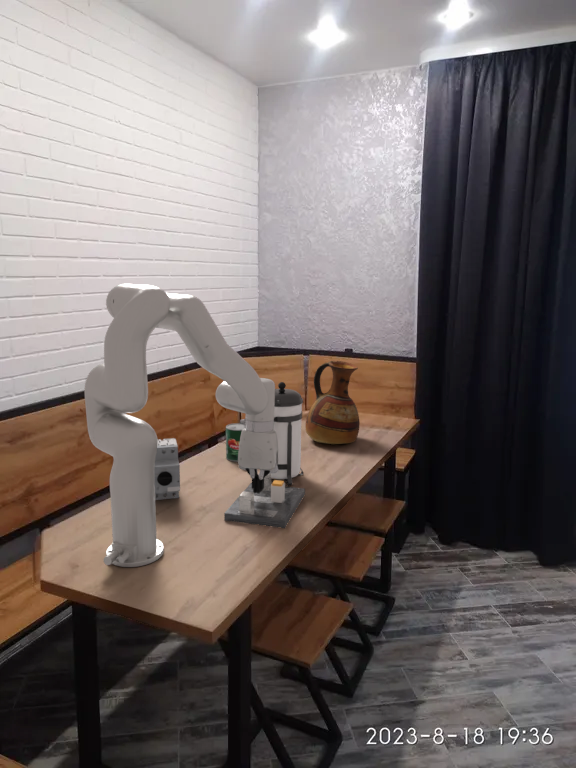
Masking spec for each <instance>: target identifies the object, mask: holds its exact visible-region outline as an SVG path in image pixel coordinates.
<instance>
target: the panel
mask: <svg viewBox="0 0 576 768" xmlns="http://www.w3.org/2000/svg"><path fill="white" fill-rule="evenodd" d="M258 475H259V473H258ZM271 485H272V478H271V474H268V475H267V476H265V477H264V489H263V490H262V491H261V492H260V493H259V494H257V493H254V492H253V489H252V482H250V484H249V485H248V486H247V487H246V488H245V489H244V490H243V491H242V492H241V493H240V494H239V496H238V497H237V498H236V499H235V500H234V501H233V502H232V504H231V505H230V506H229V507H228V508H227V509H226V510H225V512H224V513H223V515H224V517H223V518H224V520H223V521H225V522H233V523H240V524H248V525H255V524H259V525H258V526H263V525H266V526H265V527H270V526H272V527H271V528H278V527H281V528H280V529H286V527H287V526H286V525H288V524H289V522H290V521H291V519H292V517H293V516H294V514H295V512H296V511H295V510H297V509H298V507H299V506H300V504H301V503H302V501H303V499H304V498H305V496H306V488H303V487H302V488H301V487H293V486H287V485H285V499H284V500H283V502H282V503H278V502H271ZM304 495H305V496H304ZM303 497H304V498H303ZM302 498H303V499H302ZM301 500H302V501H301ZM299 503H300V504H299ZM298 505H299V506H298ZM296 508H297V509H296ZM293 513H294V514H293ZM292 515H293V516H292ZM290 518H291V519H290ZM289 520H290V521H289ZM287 523H288V524H287Z"/></svg>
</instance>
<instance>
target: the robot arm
mask: <svg viewBox="0 0 576 768" xmlns="http://www.w3.org/2000/svg"><path fill="white" fill-rule="evenodd" d="M105 305H106V308H107V312H108V313H109V314H110V316H111V317H112V318H113V319H112V320H111V322H110V325H109V326H108V328H107V330H106V332H105V337H104V340H103V363H100V364H98V365H96V366H95V367H94V368H93V367H92V369H91V371H90V372H89V373H88V375H87V377H86V379H85V382H84V401H85V402H84V403H85V414H86V425H87V432H88V436H89V440H90V441H91V443H92V445H93V446H94V447H95V448H96V449H98V450H100V451H101V452H103V453H105V454H107V455H110V457H112V458H113V461H112V467H111V469H110V475H109V492H110V512H111V529H112V530H111V532H112V543H111V544H110V545H109V546H108V548H107V549H106V550H105V556H104V558H103V563H104V564H105V565H106V566H110V565H114V566H117V567H121V568H122V567H123V568H135V567H136V568H137V567H143V566H145V565H150V564H151V563H154V562H155V561H157V560H158V559H160V558H161V557H162V556H163V555H164V552H165V549H164V546H165V545H164V544H163V542H162V541H161V540H159V539H158V538H157V517H156V516H157V514H156V500H155V482H154V468H155V458H156V452H157V445H158V441H157V439H158V436H157V433H156V431H155V429H154V428H153V426H152V425H151V424H149V423H148V422H146V421H145V420H143V419H141V418H138V417H136V416H133V415H130V414H134V413H137V412H139V411H141V410H142V409H143V408H144V407H145V406H146V404H147V401H148V400H149V399H148V398H149V383H148V369H147V345H148V341H149V338H150V336H151V335H152V333H153V332H154V330H155V329H156V328H157V329H163V330H170V331H175V332H176V333H177V335H178V336H179V337H180V338H181V340H182V341H183V343H184V345H185V347H186V348H187V350H188V351H189V352H190V355H191V356H192V357H193V359H194V361H195V362H196V363H197V365H199V366H200V367H201V368H202V369H204V370H206V371H207V372H208V373H210V374H213V375H214V376H216V377H218V378H219V379H221V380H222V382H221V383H220V384H218V386H217V388H216V390H215V399H216V401H217V403H218V404H219V405H220V406H221V407H223V408H225V409H228V410H231V411H235V412H238V413H242V414H245V418H243V419H240V422H239V423H240V424H243V425H244V429H243V430H242V432H241V437H240V443H239V452H238V462H237V464H238V469H240V470H243V471H245V472H247V474H248V475H249V477H250V478H251V483H252V489H253V492H254V493H257V494H259V493H260V492H261V491H262V490H263V489H264V477H265V476H267V475H268V474H272V473H277V472H278V466H277V464H278V441H277V434H276V431H275V430H274V405H275V389H276V384H275V382H274V380H272V379H270V378H264V377H260V376H259V374H258V373H257V371H256V370H255V368H254V367H253V366H251V364H250V363H249V362H248V361H247V360H245V359H244V358H243V357H242V356H241V355H240V354H239V353H238V352H237V351H236V350H235V349H234V348H233V347H231V346H230V345H229V344H228V343H227V341H226V339H225V338H224V336H223V334H222V333H221V331H220V329H219V328H218V325H217V324H216V323H215V321H214V319H213V317H212V316H211V314H210V312H209V311H208V309H207V307H206V306H205V304H204V302H203V301H202V300H201V299H200V298H199V297H196V296H194V295H191V294H182V293H180V294H179V293H172V292H171V293H169V292H166V291H165V290H164V289H162V288H161V287H159V286H155V285H151V284H135V283H134V284H133V283H121V284H118V285H116V286H113V287H112V289H111V290H109V292H108V294H107V295H106V299H105ZM258 470H259V472H258ZM258 474H259V475H258Z"/></svg>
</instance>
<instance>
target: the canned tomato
mask: <svg viewBox="0 0 576 768" xmlns="http://www.w3.org/2000/svg"><path fill="white" fill-rule="evenodd" d="M243 429H244V425H243V424H240V422H239V423H238V422H236V423H229V424H227V425H226V426H225V451H226V452H225V454H226V455H225V459H226V460H227V461H230V462H236V463H238V452H239V443H240V437H241V432H242V430H243Z"/></svg>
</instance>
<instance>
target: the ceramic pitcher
mask: <svg viewBox="0 0 576 768" xmlns="http://www.w3.org/2000/svg"><path fill="white" fill-rule="evenodd" d="M328 367H329V368H330V369H331V372H332V382H331V386H330V388H329V389H328V391H327V392H323V391H322V387H321V377H322V374H323V371H324V370H325V369H326V368H328ZM357 370H358V366H356V365H355V364H352V363H349V362H346V361H342V360H341V361H340V360H331V361H328V362H324V363H322V364H321V365H319V366H318V368H316V371H315V373H314V376H313V387H314V391H315V395H316V396H315V397H316V398H315V401H314V402H313V404H312V405H311V407H310V408H309V411H308V413H307V415H306V420H305V426H304V427H305V432H306V435H307V436H309V438H310V439H312V440H313V441H315V442H317V443H321V444H328V445H330V444H331V445H343V444H351V443H354V442H355V441H356V440H357V439H358V436H359V431H360V426H361V423H360V416H359V415H360V414H359V411H358V407H357V405H356V403H355V402H354V400H353V399H352V398H351V397H350V396H349V395H350V394H349V389H348V388H349V385H350V379H351V377H352V375H353V373H354V372H355V371H357Z"/></svg>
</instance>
